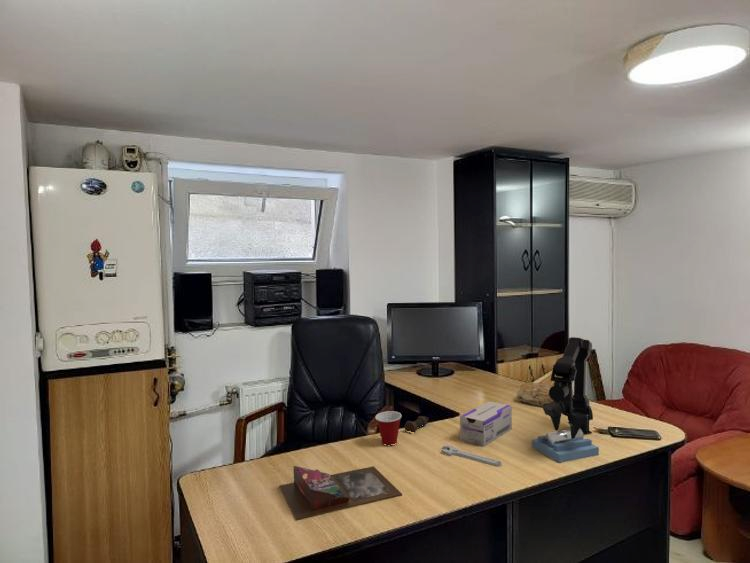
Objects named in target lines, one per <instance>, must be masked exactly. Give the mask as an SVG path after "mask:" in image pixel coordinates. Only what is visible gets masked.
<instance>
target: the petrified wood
mask: <svg viewBox="0 0 750 563" xmlns="http://www.w3.org/2000/svg"><path fill="white" fill-rule="evenodd" d="M551 387H552V386H551V385H546V384H542V383H537V382H531V381H525V382H524V383H521V385H520V386H519V387H518V390H517V393H516V397H515V398H516V399H518V400H519V401H521V402H524V403H526V404H529V405H533V406H537V407H542V408H543V405H544V404H545V403H550V402H552V401H553V400H552V399H551V398H550V396H549V389H550V388H551Z"/></svg>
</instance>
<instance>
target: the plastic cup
mask: <svg viewBox="0 0 750 563" xmlns="http://www.w3.org/2000/svg"><path fill="white" fill-rule="evenodd" d="M374 418H375V419H376V421H377V422H376V423H377V425H378V429H379V434H380V439H381V443H382V445H383V444H386V445H391V444H395V443H396V444H397V443H398V436H399V429H400V423H401V419H402V414H401V412H398V411H396V410H395V411H394V410H387V411H382V412H379V413H377V414H376V415H375V417H374Z"/></svg>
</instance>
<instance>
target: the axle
mask: <svg viewBox="0 0 750 563" xmlns="http://www.w3.org/2000/svg"><path fill="white" fill-rule="evenodd" d="M584 437H585V434H583V432H582V430H581V429H579V431H578V433H577V434H576V436H575V438H574V439H572V438H571V429H570V428H568V429H563V430H558V431H552V432H547V433H546V434H545V440H546V443H547V444H548V446H550V447H551V446H553V445H554V444H560V443H565V442H571V441H576V440H582V439H585V438H584Z"/></svg>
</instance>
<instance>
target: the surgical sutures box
mask: <svg viewBox="0 0 750 563" xmlns="http://www.w3.org/2000/svg"><path fill="white" fill-rule="evenodd" d="M512 416H513V412H512V405H510V404H504V403H499V402H493V401H491V400H490V401H488V402H485V403H483V404H481V405H479V406H477V407H476V408H473V409H471V410H468V411H467V412H465V413H464V414H461V415H459V434H460V437H459V438H460V440H459V441H460V442H462V443H467V444H471V445H475V446H478V447H483V448H484V447H487V446H488V445H490V444H491V443H492V442H494V441H495V440H498V439H499V438H500V437H502V436H503V435H505V434H506V433H509V432H510V431H512V429H513V426H512V425H513V422H512V421H513V420H512Z"/></svg>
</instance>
